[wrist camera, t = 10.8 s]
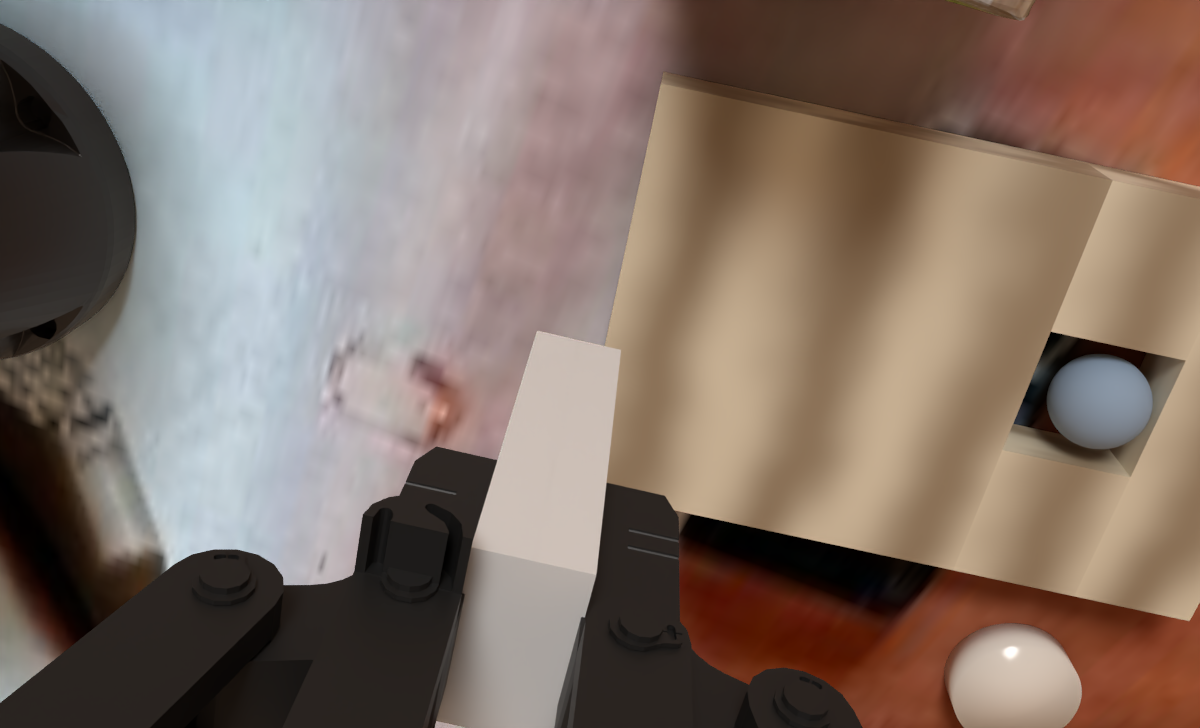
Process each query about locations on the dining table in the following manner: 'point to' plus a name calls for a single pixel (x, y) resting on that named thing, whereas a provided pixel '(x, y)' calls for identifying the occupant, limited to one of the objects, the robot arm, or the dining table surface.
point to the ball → (1099, 401)
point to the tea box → (1000, 7)
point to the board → (905, 344)
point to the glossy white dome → (1012, 679)
